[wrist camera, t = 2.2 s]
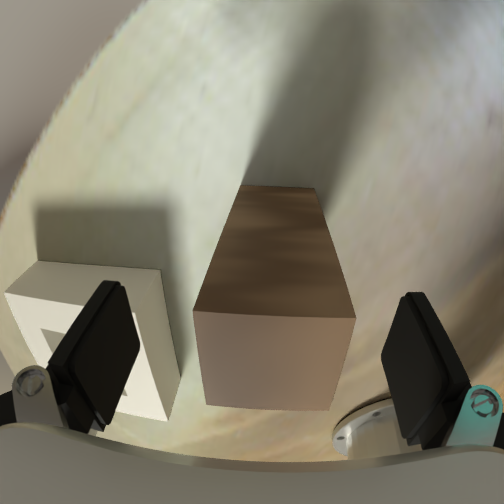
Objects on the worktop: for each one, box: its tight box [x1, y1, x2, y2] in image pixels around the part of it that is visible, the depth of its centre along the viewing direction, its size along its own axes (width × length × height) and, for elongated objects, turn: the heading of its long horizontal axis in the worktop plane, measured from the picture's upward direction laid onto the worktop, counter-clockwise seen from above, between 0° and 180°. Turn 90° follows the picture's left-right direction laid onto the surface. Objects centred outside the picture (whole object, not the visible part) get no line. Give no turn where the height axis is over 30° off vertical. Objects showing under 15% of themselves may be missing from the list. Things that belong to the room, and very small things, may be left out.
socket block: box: [4, 261, 181, 422], centre depth 23 cm, size 12×12×5 cm
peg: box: [193, 185, 356, 411], centre depth 15 cm, size 4×4×12 cm
